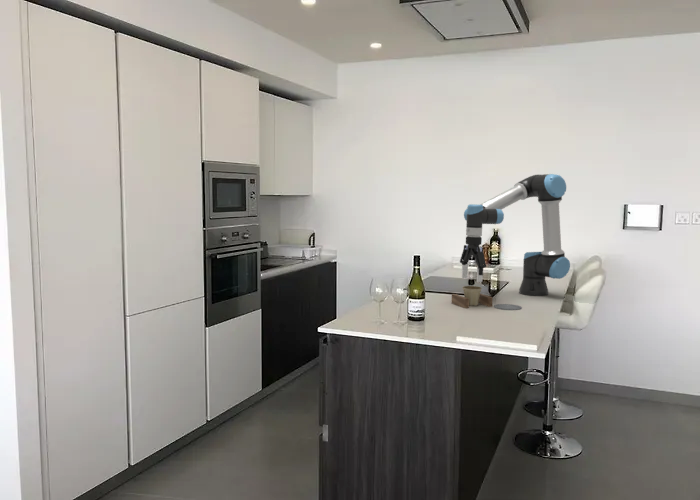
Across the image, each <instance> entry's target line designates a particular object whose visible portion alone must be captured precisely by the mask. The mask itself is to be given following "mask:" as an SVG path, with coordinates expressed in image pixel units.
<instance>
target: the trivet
mask: <svg viewBox="0 0 700 500" xmlns="http://www.w3.org/2000/svg"><path fill="white" fill-rule="evenodd" d="M493 308H494V309H497V310H498V309H499V310H504V311H518V310H522V308H523V307H522V306H520V305H518V304H510V303H498V304H494V305H493Z"/></svg>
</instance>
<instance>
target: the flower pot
mask: <svg viewBox="0 0 700 500" xmlns="http://www.w3.org/2000/svg"><path fill="white" fill-rule="evenodd" d="M461 288H462V290H463V294H464V296H463V297H466V298H469V307H473V306H475V307H477V306H478V305H479V303H478V302H479V296H480V294H481V292H482V289H483V287H482V286H476V285H464V286H462V287H461Z"/></svg>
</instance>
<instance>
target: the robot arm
mask: <svg viewBox="0 0 700 500" xmlns="http://www.w3.org/2000/svg"><path fill="white" fill-rule="evenodd" d="M566 191H567V183H566V180H565V179H564V177H562V176H561V175H560V174H555V173H554V174H553V173H549V174H548V173H547V174H546V173H545V174H533V175H530V176H528V177H526V178H524V179H522V180H520V181H518V182H516V183H514V185H513V186H512V187H510V188H509V189H507V190H505V191H503V192H501V193H499V194H497V195H495V196H493V197H492V198H490V199H488V200H487V201H484V202H483V203H479V204H472V203H471V204H468V205H467V208H466V209H465V210H464V212H463V218H464V220H465V221H466V224H465V225H466V228H465V229H466V230H465V234H466V235H465V244H464V245H463V250H462V253H461V256H460V260H459V263H461V266H462V267H461V279H468V277H469V276H468V271H469V261H470V259H471V257H473V258H474V260H475V263H476V265H477V267H476V283H483V279H484V278H483V276H484V268H485V269H486V268H487V264H486V263H487V262H486V259H485V254H484V247H481V246H480V245H482V238H483V237H482V236H483V225H499V224H502V223H503V222H504V217H505V213H504V212H503V209H505V208H507V207H509V206H511V205H512V204H514V203H517V202H519V201H520V200H521V201H524V200H526V199H528V198H534V197H535V198H537V201H538V203H539V204H540V205H541V221H542V236H543V237H542V239H543V240H542V241H543V250H542V251H528V252H527V251H526V252H525V253H524V254H523V265H522V266H523V272H522V274H523V276H522V281H521V283H520V287H519V288H518V290H519V291H518V293H519V294H521V295H524V296H526V295H527V296H535V297H537V296H539V297H540V296H541V297H543V296H547V295H549V289H548V285H547V282H546V278H551V279H559V280H560V279H563V278H564V277H566V276H567V274H568V273H569V271H570V269H571V263H570V260H569V259H568V258H567V256H566V255H565V253H566V252H565V251H564V250H563V249H562V241H561V217H560V216H561V215H560V203H561V201H562V200H563V196H564V195H565V194H566Z"/></svg>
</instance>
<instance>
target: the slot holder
mask: <svg viewBox="0 0 700 500" xmlns="http://www.w3.org/2000/svg"><path fill="white" fill-rule="evenodd" d="M451 304H453V305H455V306H458V307H461V308H463V309H469V307H470V306H469V298H466V297H464V296H463V295H459V294H456V293H451ZM479 304H480V305H482V306H486V307H487V308H488V307H491V308H493V296H490V295H486V294H483V293H480V296H479V302H478V305H479Z"/></svg>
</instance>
